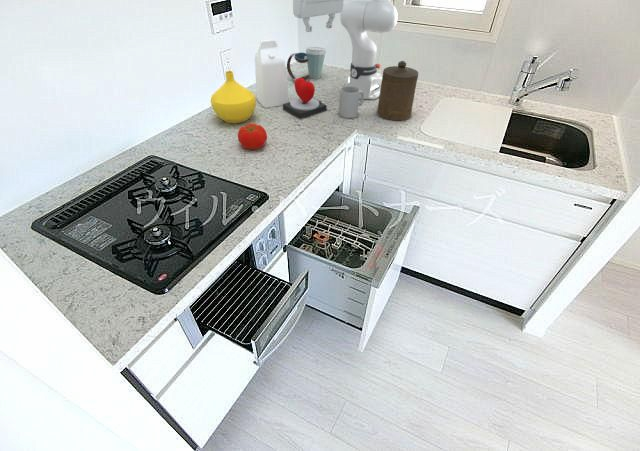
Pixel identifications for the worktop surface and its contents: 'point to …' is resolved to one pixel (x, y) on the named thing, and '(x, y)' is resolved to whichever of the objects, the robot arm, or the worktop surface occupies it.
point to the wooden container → (397, 92)
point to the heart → (304, 89)
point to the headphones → (301, 59)
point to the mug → (350, 101)
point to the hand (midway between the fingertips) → (319, 29)
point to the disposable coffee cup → (315, 61)
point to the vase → (233, 101)
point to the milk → (270, 75)
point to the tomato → (252, 136)
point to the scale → (304, 107)
